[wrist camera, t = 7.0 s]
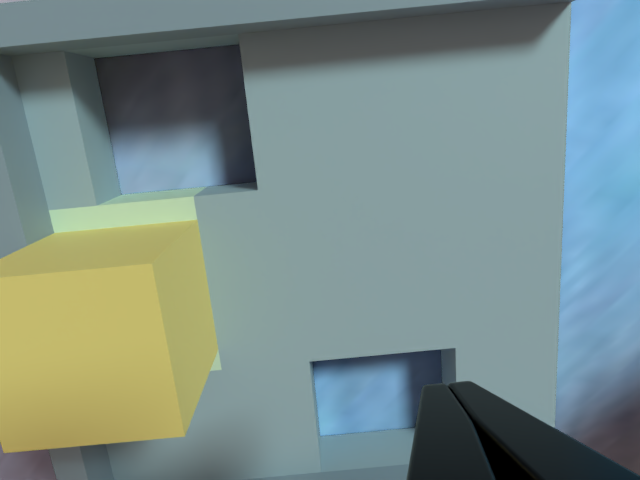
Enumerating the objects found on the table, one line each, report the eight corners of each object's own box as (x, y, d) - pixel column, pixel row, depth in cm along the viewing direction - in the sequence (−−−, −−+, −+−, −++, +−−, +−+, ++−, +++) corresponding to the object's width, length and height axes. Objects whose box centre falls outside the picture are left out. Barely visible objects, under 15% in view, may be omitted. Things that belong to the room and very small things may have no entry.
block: (197, 219, 15) (152, 263, 11) (218, 349, 16) (184, 436, 12) (54, 232, 15) (-49, 281, 11) (85, 361, 16) (3, 452, 12)
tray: (539, -19, 15) (604, -56, 12) (529, 438, 20) (574, 505, 16) (9, 32, 15) (-75, 10, 12) (116, 476, 20) (76, 551, 16)
